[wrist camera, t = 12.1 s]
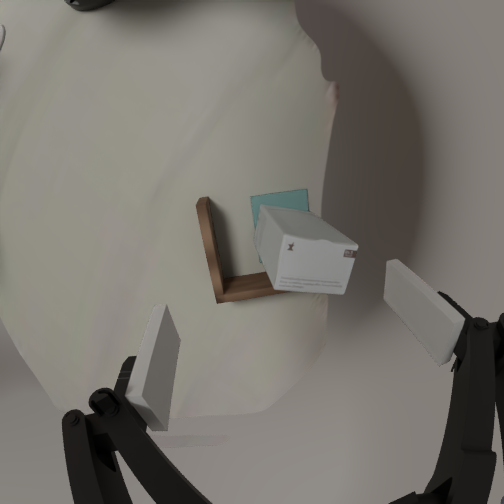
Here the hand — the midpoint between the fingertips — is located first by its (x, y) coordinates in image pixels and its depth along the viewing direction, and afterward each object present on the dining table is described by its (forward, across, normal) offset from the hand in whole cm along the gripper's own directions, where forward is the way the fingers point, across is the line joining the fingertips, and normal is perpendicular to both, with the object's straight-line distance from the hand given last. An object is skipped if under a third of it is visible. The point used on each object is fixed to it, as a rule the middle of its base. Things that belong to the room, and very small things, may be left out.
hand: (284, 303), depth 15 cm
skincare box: (+25, +5, -4) cm, 26 cm away
